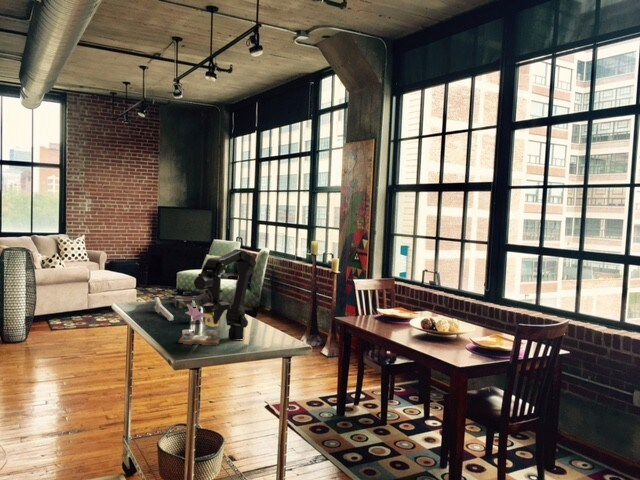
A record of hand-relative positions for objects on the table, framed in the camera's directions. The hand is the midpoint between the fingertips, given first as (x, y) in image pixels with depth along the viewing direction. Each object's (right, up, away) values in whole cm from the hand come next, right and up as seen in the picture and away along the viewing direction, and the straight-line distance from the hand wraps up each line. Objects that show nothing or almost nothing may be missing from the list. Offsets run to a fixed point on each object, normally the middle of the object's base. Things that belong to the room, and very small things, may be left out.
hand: (212, 322), depth 236 cm
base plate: (-7, -10, +9) cm, 15 cm away
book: (-33, -5, +92) cm, 98 cm away
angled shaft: (-12, -8, +7) cm, 17 cm away
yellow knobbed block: (0, -1, 0) cm, 1 cm away
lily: (-18, -8, +47) cm, 51 cm away
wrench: (-39, -6, +61) cm, 73 cm away
